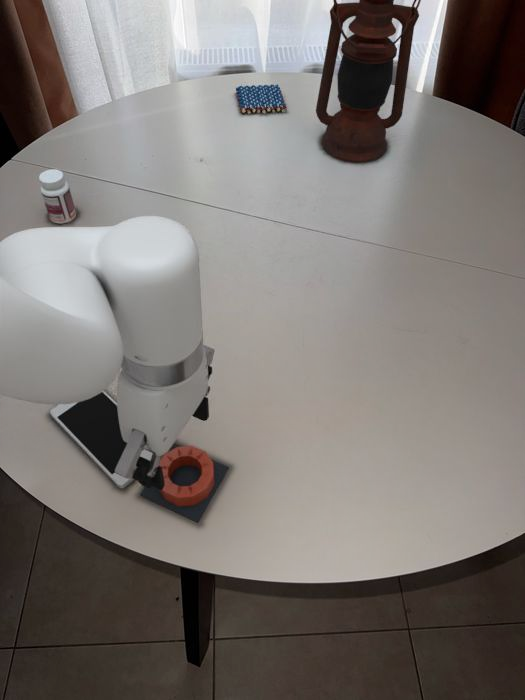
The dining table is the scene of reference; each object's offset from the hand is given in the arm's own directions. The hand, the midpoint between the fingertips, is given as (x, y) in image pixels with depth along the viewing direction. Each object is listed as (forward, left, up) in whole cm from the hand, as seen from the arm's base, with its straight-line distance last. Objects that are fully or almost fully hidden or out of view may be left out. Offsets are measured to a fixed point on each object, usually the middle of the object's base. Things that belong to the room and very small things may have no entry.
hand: (174, 447), depth 65 cm
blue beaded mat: (+90, +32, -9) cm, 96 cm away
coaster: (0, 0, -9) cm, 9 cm away
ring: (+1, -1, -8) cm, 8 cm away
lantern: (+83, +7, -9) cm, 84 cm away
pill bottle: (+36, +46, -9) cm, 59 cm away
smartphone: (+2, +12, -9) cm, 15 cm away
